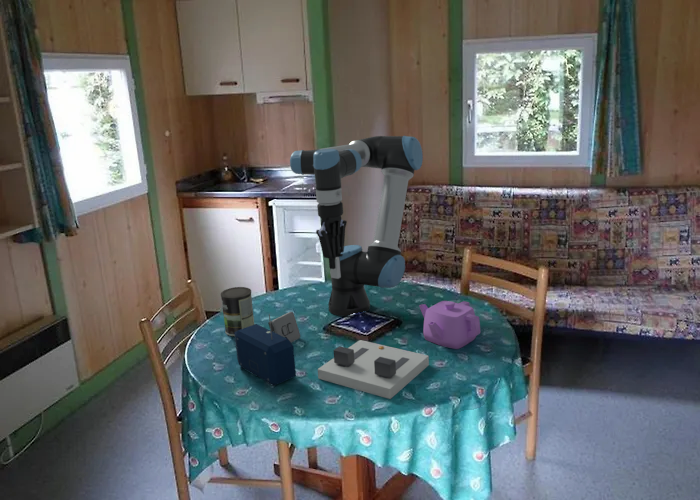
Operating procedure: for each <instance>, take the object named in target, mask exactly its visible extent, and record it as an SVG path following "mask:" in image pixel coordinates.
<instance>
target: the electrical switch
mask: <svg viewBox="0 0 700 500" xmlns="http://www.w3.org/2000/svg"><path fill="white" fill-rule="evenodd" d="M296 319H297V318H296V317H295V313H294V312H293V311H289V312H287V313H285V314H283V315H281V316H278V317H277V318H275V319H272V320H270V321H269V322H268V326H269V328H270V322H271V330H270V331H272V332H274V333H277V334H279V335H281V336H283V337H285V338H287V339H289V341H290V342H291V343H292V344H293V342H295V341H297V340H299V339H300V338H301V333H300V330H299V327H298V323H297V320H296Z"/></svg>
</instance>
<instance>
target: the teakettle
mask: <svg viewBox="0 0 700 500" xmlns="http://www.w3.org/2000/svg"><path fill="white" fill-rule="evenodd" d="M470 305H471V304H470V302H469V301H466V300H463V301H461V302H459V303H458V302H454V301H450V300H449V301H448V300H442V301H439V302H437V303H436V304H434V305H432V306H430V307H428V306H427V304H423V303H422V304H419V305H418V307H419V309H420V312H421V314H422V317H423V318H424V320H423V331H422V333H423V337H424V340H425V341H427V342H430V343H432V344H435V345H438V346H441V347H445V348H450V349H453V350H459V349H461V348H464V347H465V346H467V345H469V344H470V343H471V342H473V341H475V339H476V338H477V336H479V335H480V334H481V323H480V316H478V315H476V313H475V310H474V308H473V307H472V306H470Z"/></svg>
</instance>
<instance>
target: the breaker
mask: <svg viewBox="0 0 700 500" xmlns="http://www.w3.org/2000/svg"><path fill="white" fill-rule="evenodd" d="M374 367H375V374H376V375H380V376H384V377H388V378H391V377H393V376H394V375H395V374H396V362H395V360H392V359H388V358H383V357H379V358H377V359H376V360H375V361H374Z"/></svg>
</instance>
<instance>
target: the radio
mask: <svg viewBox="0 0 700 500" xmlns="http://www.w3.org/2000/svg"><path fill="white" fill-rule="evenodd" d="M268 319H269V322H270V327H269V329H268V328H266V327H264V326H261V325H259V324H257V323H254V325H252V326H249V327H246V328H243V329H241V330H238V331H236V332H234V335H235V336H234V340H235V341H234V342H235V350H236V359H237V363H238V365H239V366H240V367H241V368H242V369H244V371H248V372H249V373H251V374H252V375H254V376H256V377H258V378H260V380H261V379H262V380H263V381H264V382H266V383H268V384H270V385H271V386H273V387H274V386H276V385H280V384H281V383H284V382H285V381H288V380H290V379H292V378H295V377H297V372H296V371H297V370H296V361H295V349H294V345H293V342H292V343H291V342H290V341H289V339H287V338H285V337H283V336H281V335H279V334H277V333H274V332H272V331H271V315H270V313H269V314H268Z"/></svg>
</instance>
